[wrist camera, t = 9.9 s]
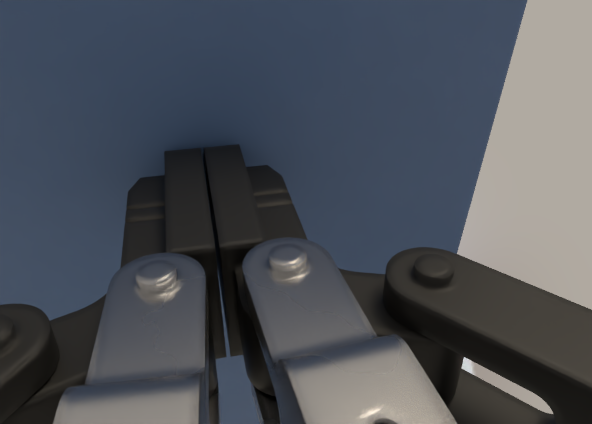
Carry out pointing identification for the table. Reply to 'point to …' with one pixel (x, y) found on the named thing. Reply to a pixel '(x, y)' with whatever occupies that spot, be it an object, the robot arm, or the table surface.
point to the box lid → (241, 126)
